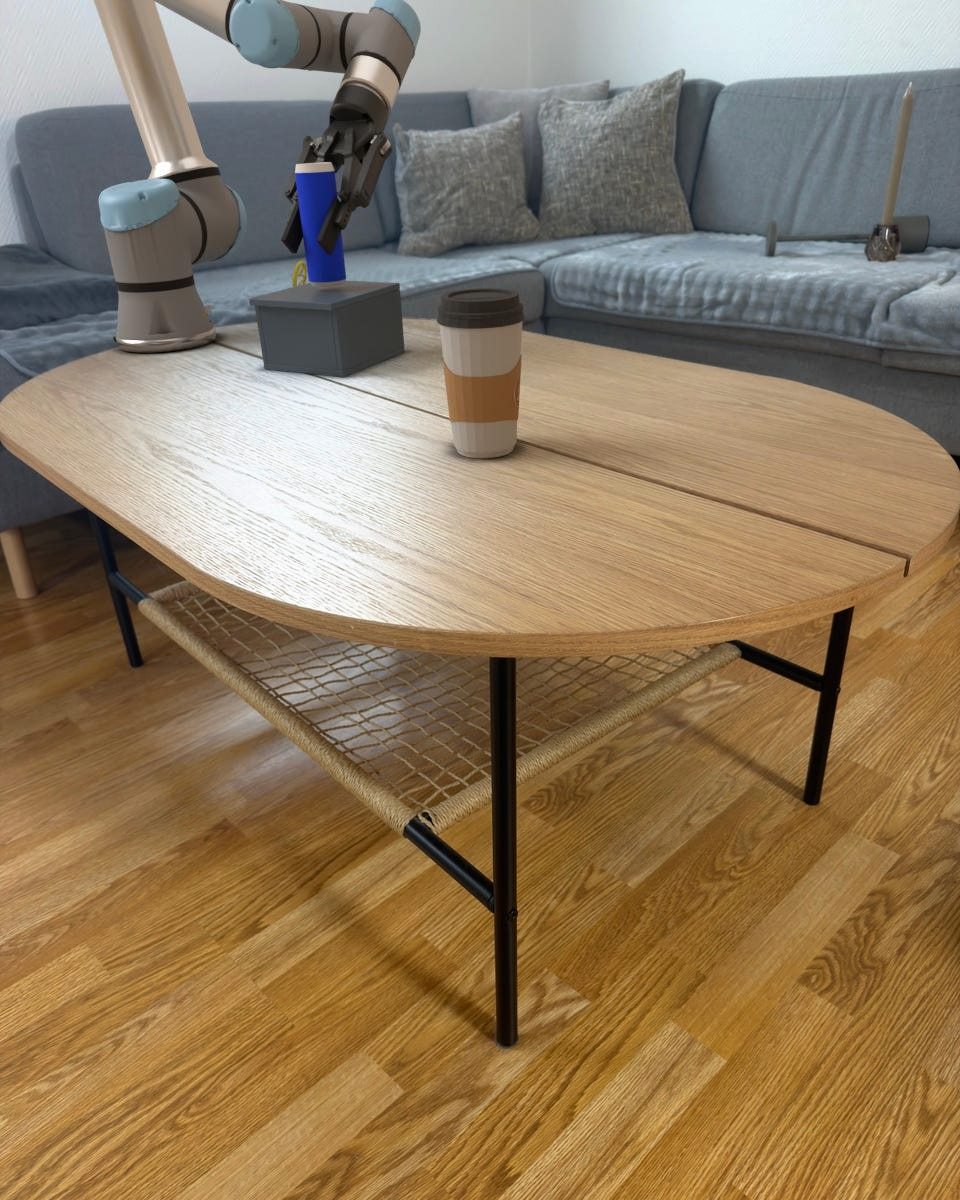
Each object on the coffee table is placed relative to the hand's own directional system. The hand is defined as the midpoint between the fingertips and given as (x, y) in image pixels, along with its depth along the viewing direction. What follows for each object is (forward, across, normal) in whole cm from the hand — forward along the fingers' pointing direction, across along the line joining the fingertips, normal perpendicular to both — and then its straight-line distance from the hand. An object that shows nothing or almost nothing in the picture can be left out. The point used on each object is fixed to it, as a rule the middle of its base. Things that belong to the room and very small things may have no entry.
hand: (306, 246), depth 115 cm
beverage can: (+1, 0, -6) cm, 7 cm away
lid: (+3, 0, -7) cm, 8 cm away
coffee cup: (+28, -38, +5) cm, 47 cm away
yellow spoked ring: (-2, +20, -24) cm, 32 cm away
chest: (+9, 0, -14) cm, 16 cm away
